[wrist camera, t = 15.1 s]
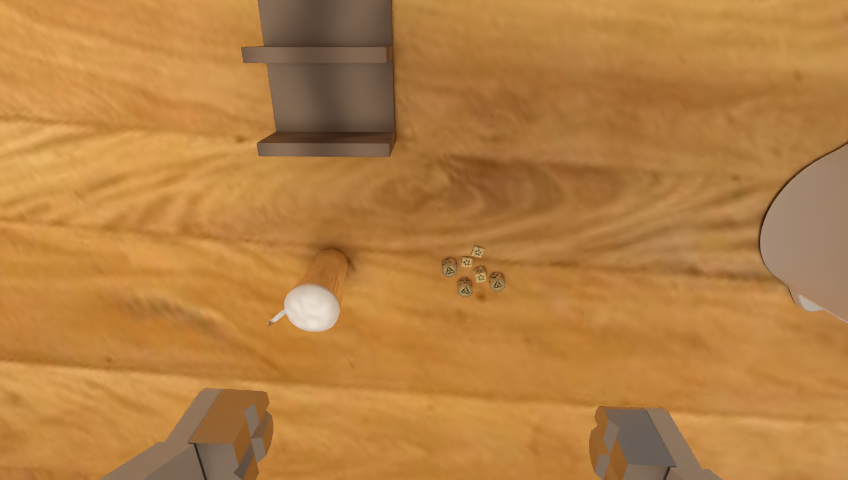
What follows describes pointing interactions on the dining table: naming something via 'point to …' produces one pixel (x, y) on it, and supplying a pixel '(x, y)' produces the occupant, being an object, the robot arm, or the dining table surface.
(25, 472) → the dining table surface
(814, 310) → the robot arm
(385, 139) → the slot rack
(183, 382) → the dining table surface
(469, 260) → the dice set
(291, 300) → the milkshake
